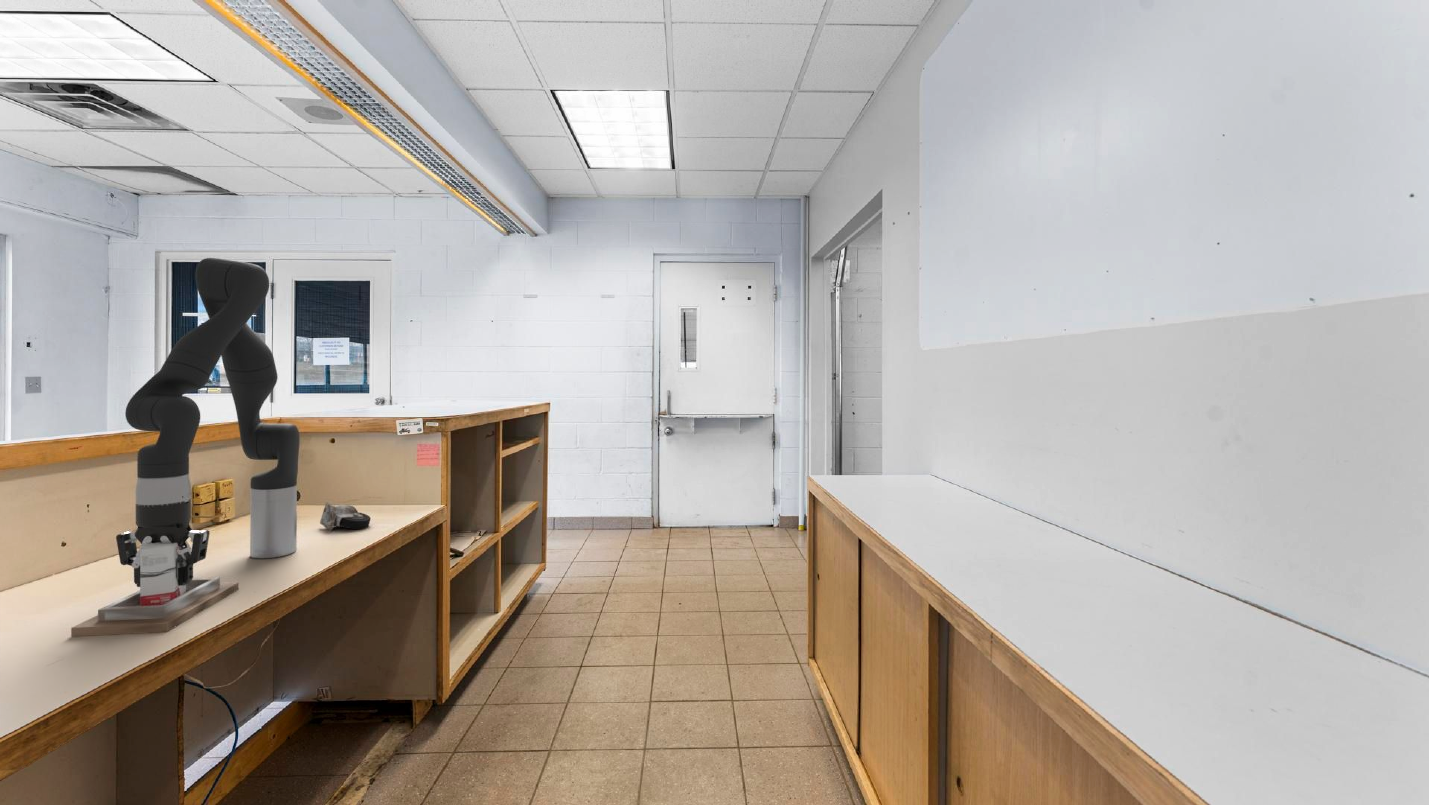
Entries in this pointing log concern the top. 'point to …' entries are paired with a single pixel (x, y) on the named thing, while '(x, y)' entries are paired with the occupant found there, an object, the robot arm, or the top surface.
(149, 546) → the ink box
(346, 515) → the caster wheel
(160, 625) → the locator board
